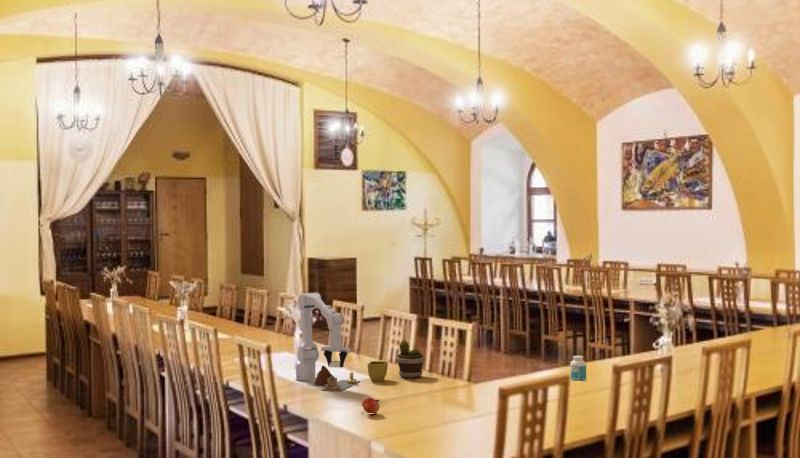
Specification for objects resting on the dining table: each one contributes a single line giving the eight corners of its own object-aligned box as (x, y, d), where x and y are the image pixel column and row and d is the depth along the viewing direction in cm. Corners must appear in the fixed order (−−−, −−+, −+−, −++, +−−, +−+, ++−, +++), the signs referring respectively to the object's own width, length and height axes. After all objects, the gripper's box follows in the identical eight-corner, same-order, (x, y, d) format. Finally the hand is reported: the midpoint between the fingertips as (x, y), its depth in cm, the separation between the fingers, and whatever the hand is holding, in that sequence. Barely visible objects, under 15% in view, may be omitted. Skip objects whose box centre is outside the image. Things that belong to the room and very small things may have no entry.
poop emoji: (318, 386, 387) (317, 367, 387) (311, 383, 394) (311, 364, 394) (337, 384, 391) (336, 365, 391) (330, 381, 399) (330, 363, 399)
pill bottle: (585, 382, 388) (585, 355, 388) (587, 385, 381) (587, 357, 381) (569, 382, 389) (569, 355, 389) (571, 385, 382) (571, 357, 382)
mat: (321, 390, 378) (321, 389, 378) (341, 380, 401) (341, 379, 401) (340, 391, 375) (340, 390, 375) (360, 381, 397) (360, 380, 397)
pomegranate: (361, 422, 327) (379, 408, 324) (352, 406, 329) (370, 393, 326) (369, 419, 334) (387, 406, 331) (360, 404, 336) (378, 391, 333)
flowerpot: (429, 375, 411) (429, 336, 411) (417, 381, 397) (417, 340, 397) (404, 373, 418) (403, 335, 417) (391, 378, 404) (391, 339, 403)
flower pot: (384, 382, 394) (384, 364, 394) (367, 382, 396) (367, 364, 396) (388, 379, 403) (388, 361, 403) (371, 378, 405) (371, 361, 405)
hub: (345, 383, 392) (345, 373, 392) (349, 381, 396) (349, 371, 396) (354, 383, 391) (354, 373, 390) (357, 381, 395) (357, 371, 395)
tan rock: (322, 388, 379) (322, 377, 379) (328, 385, 386) (328, 374, 386) (336, 389, 377) (336, 378, 377) (342, 386, 384) (342, 375, 384)
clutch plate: (327, 367, 382) (327, 362, 382) (332, 365, 387) (332, 360, 387) (338, 367, 380) (338, 363, 380) (343, 365, 385) (343, 361, 385)
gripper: (318, 339, 382) (318, 367, 383) (345, 340, 377) (346, 369, 378) (324, 337, 389) (324, 364, 389) (351, 338, 384) (352, 366, 384)
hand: (335, 366), depth 384 cm, fingers closed on clutch plate, 6 cm apart
